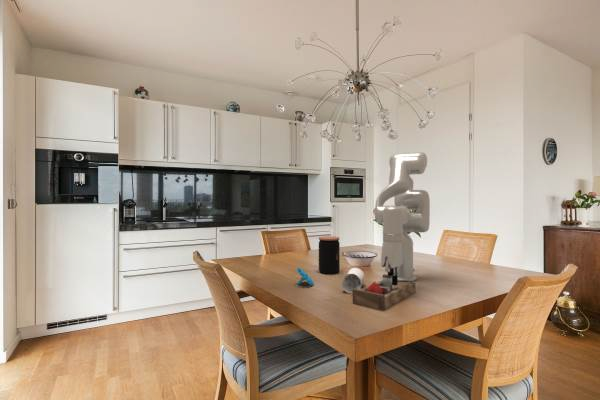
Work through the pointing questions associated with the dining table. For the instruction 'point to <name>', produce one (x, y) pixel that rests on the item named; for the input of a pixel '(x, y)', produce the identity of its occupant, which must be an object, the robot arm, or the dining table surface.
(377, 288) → the pomegranate
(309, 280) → the gear
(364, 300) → the guide
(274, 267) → the dining table surface
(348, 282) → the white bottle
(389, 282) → the grey angular piece
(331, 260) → the coffee jar
